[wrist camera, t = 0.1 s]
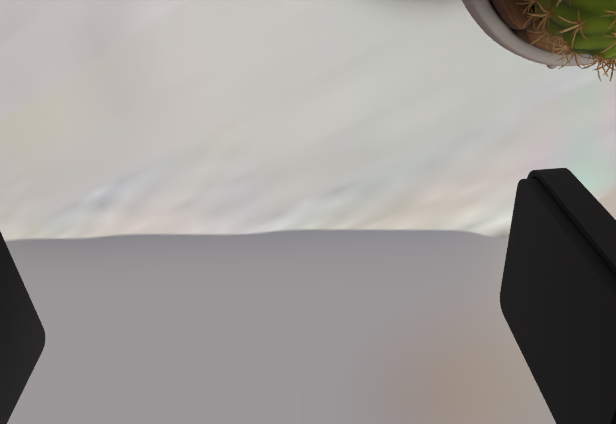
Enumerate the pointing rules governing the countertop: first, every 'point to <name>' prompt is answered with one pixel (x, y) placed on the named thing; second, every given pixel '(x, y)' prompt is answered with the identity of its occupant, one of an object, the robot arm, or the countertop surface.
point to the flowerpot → (551, 29)
